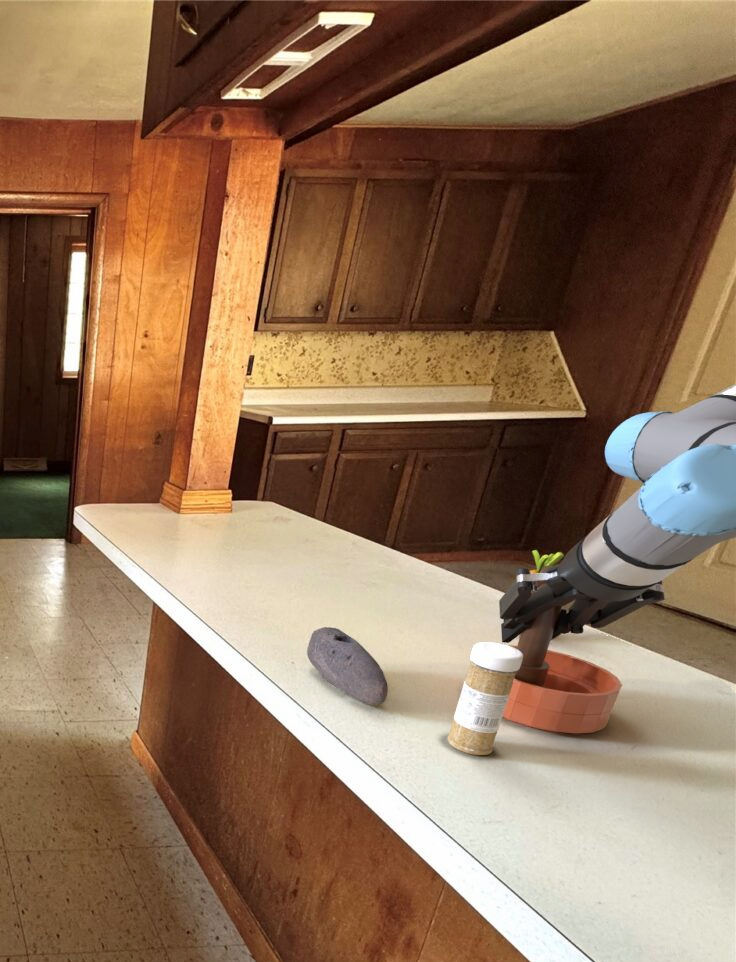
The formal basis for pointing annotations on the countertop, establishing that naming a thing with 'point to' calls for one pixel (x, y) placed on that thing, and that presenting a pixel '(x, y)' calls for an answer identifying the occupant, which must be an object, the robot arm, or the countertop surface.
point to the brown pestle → (537, 645)
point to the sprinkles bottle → (484, 697)
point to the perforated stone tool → (347, 665)
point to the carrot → (545, 561)
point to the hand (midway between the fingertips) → (521, 635)
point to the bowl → (565, 697)
